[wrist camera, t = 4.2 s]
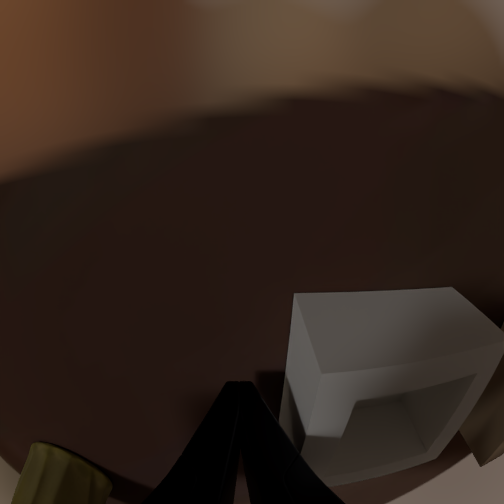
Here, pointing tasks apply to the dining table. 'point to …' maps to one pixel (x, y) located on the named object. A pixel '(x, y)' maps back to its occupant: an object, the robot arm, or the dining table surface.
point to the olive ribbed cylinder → (60, 478)
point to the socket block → (382, 378)
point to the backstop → (487, 420)
